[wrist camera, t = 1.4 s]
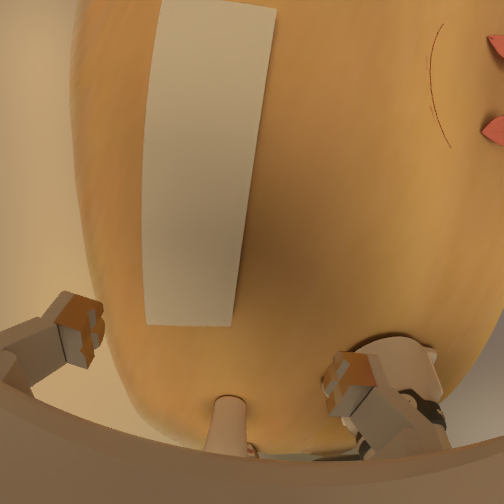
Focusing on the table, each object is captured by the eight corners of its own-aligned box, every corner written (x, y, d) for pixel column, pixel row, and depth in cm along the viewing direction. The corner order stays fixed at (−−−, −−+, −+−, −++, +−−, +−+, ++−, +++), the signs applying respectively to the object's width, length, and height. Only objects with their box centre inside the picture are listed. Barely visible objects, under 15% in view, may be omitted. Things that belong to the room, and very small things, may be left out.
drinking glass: (212, 412, 50) (202, 486, 37) (208, 390, 47) (195, 471, 33) (251, 414, 50) (247, 489, 36) (250, 392, 47) (245, 474, 33)
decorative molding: (265, 20, 25) (167, 10, 23) (277, 9, 21) (162, -3, 19) (226, 302, 41) (149, 299, 38) (230, 326, 36) (146, 324, 34)
